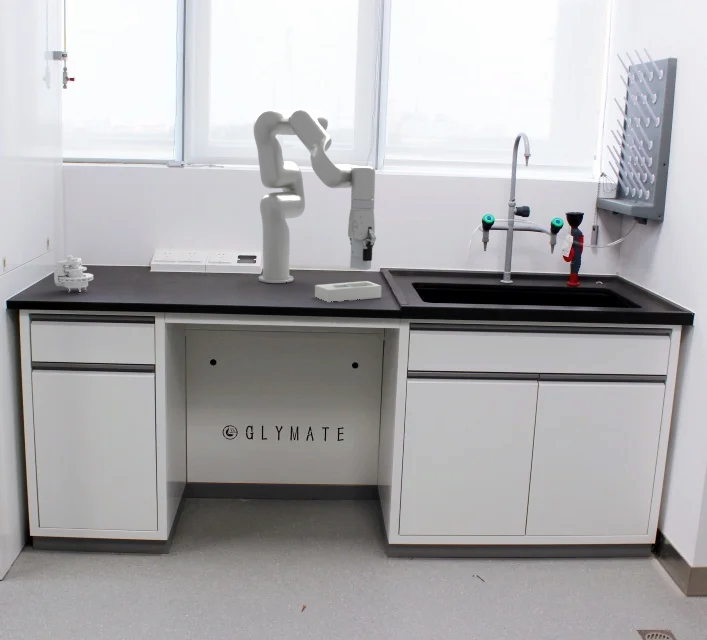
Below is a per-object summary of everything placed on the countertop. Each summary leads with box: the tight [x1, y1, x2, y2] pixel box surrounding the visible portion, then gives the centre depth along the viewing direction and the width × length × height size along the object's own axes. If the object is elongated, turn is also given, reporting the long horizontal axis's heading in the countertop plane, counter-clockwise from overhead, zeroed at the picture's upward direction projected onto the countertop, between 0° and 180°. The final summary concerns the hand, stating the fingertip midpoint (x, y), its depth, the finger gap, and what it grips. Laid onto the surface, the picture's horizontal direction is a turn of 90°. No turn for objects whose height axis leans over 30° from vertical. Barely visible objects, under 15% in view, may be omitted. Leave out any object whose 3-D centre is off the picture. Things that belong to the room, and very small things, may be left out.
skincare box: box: [349, 232, 372, 271], centre depth 260 cm, size 6×4×12 cm
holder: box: [314, 280, 382, 303], centre depth 261 cm, size 9×20×4 cm, turn 119°
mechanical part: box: [53, 254, 94, 293], centre depth 258 cm, size 11×12×12 cm
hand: (361, 258), depth 261 cm, fingers closed on skincare box, 7 cm apart
